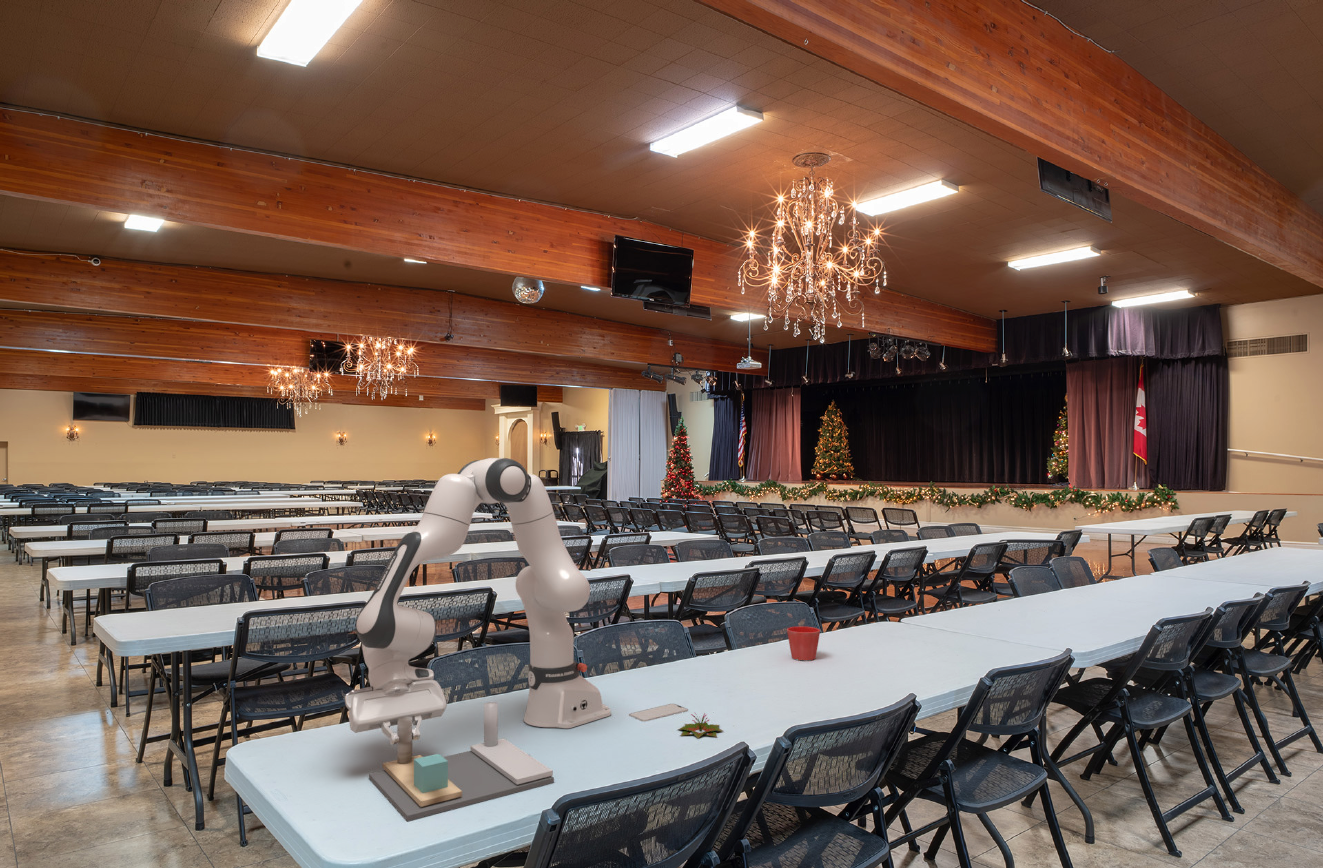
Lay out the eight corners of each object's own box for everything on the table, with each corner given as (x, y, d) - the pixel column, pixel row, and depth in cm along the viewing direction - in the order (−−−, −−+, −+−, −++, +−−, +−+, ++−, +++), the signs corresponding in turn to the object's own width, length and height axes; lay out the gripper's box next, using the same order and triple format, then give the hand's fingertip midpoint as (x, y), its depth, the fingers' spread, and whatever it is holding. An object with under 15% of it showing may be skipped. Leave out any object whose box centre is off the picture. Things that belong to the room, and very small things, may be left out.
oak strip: (420, 759, 173) (420, 712, 173) (461, 796, 153) (462, 743, 154) (382, 767, 168) (383, 719, 169) (420, 806, 149) (421, 752, 149)
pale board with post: (503, 742, 183) (503, 698, 183) (552, 775, 164) (552, 725, 164) (470, 750, 178) (470, 704, 179) (516, 784, 159) (516, 733, 159)
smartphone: (627, 713, 207) (672, 703, 216) (627, 716, 207) (672, 705, 216) (643, 720, 202) (689, 709, 210) (643, 723, 201) (689, 712, 210)
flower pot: (801, 653, 274) (800, 624, 275) (826, 658, 266) (826, 629, 266) (780, 657, 268) (780, 628, 268) (806, 663, 259) (805, 633, 260)
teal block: (438, 778, 160) (438, 753, 160) (447, 786, 155) (447, 760, 156) (413, 784, 157) (414, 758, 157) (422, 793, 153) (422, 766, 153)
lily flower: (723, 742, 187) (722, 722, 188) (672, 740, 189) (672, 720, 189) (726, 725, 199) (726, 707, 199) (679, 724, 201) (679, 705, 201)
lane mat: (502, 747, 183) (502, 743, 183) (553, 782, 163) (553, 777, 163) (368, 778, 166) (368, 773, 166) (407, 821, 146) (407, 815, 146)
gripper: (345, 683, 169) (358, 742, 161) (439, 668, 181) (455, 723, 173) (340, 699, 173) (351, 758, 164) (432, 684, 185) (447, 738, 176)
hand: (405, 740), depth 169 cm, fingers closed on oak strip, 3 cm apart
